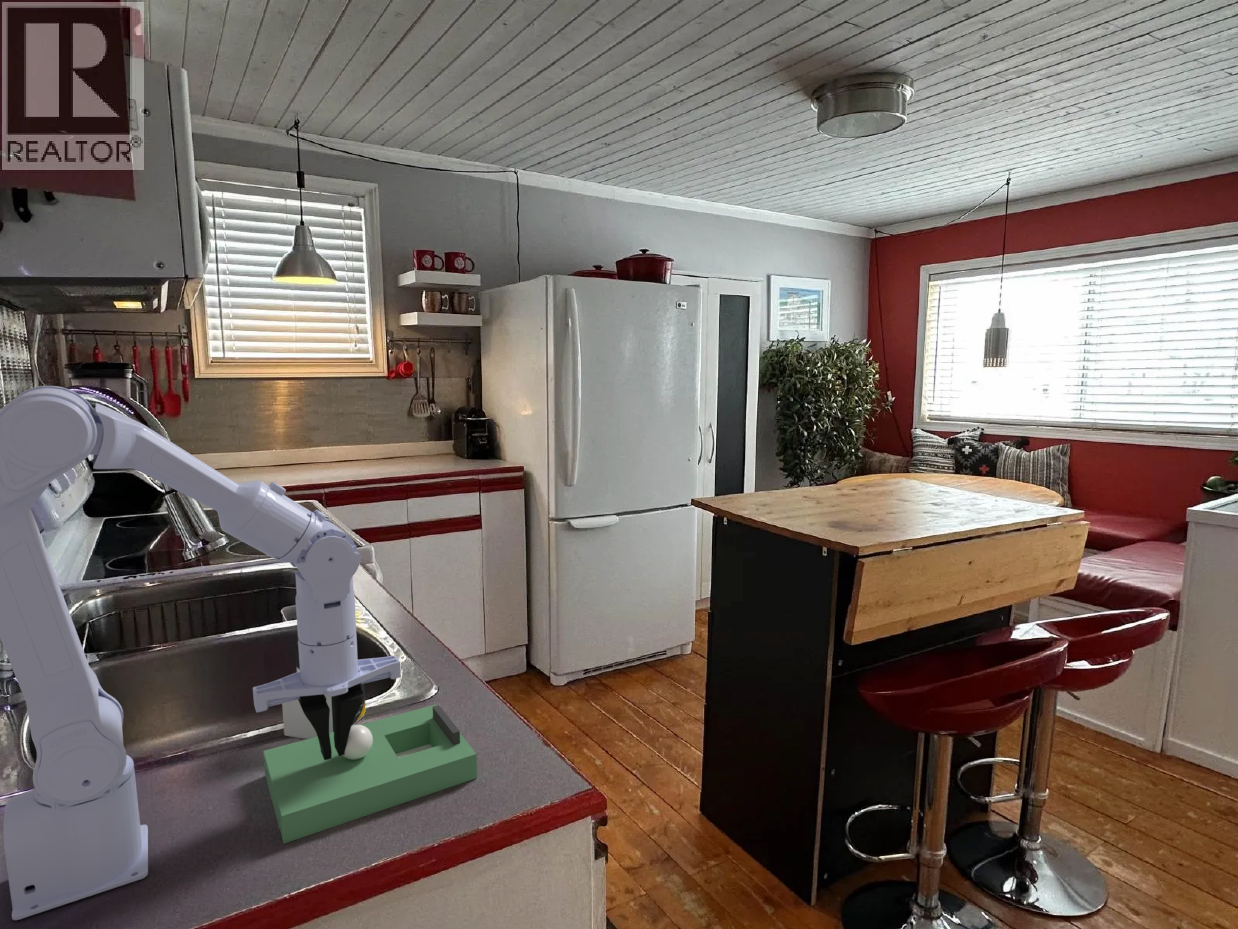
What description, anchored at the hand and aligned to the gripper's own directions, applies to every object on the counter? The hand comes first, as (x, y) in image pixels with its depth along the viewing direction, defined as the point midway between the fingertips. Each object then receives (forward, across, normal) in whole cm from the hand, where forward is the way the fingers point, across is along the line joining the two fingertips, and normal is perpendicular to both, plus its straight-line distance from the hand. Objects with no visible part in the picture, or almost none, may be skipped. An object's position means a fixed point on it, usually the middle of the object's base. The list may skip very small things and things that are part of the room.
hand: (334, 752), depth 77 cm
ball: (0, +2, 0) cm, 2 cm away
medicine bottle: (+4, +2, +14) cm, 15 cm away
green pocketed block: (+4, +4, 0) cm, 6 cm away
